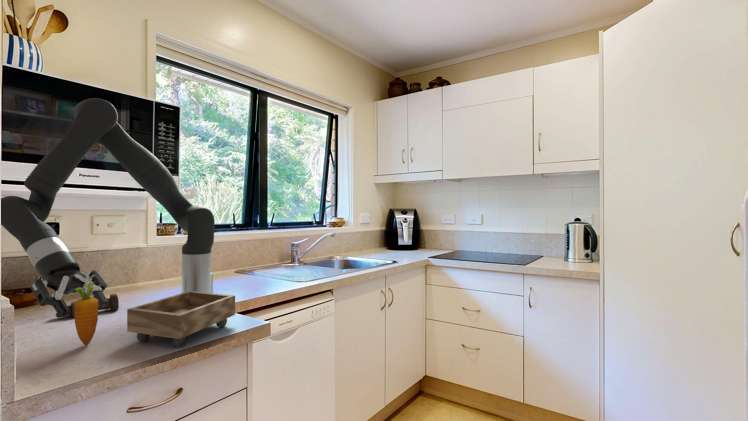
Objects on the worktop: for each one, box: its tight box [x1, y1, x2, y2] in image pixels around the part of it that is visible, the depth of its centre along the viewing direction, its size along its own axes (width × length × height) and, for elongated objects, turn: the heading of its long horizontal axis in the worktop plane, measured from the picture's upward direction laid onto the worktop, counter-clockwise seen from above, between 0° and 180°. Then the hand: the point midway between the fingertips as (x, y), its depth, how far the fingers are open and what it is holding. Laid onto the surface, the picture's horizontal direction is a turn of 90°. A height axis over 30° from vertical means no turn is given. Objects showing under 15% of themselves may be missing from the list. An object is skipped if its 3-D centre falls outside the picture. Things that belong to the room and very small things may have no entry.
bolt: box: [54, 293, 120, 319], centre depth 113 cm, size 6×5×15 cm
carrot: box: [73, 283, 99, 346], centre depth 89 cm, size 5×5×15 cm
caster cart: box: [126, 291, 236, 348], centre depth 98 cm, size 20×16×8 cm
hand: (86, 310), depth 89 cm, fingers open, 8 cm apart
